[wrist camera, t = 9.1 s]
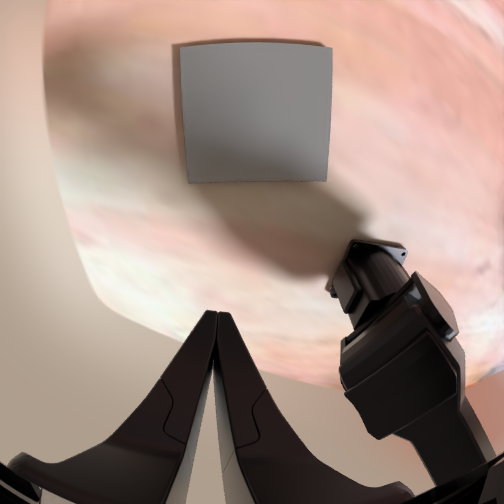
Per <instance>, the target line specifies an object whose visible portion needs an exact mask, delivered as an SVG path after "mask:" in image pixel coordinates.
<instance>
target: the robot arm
mask: <svg viewBox="0 0 504 504" xmlns="http://www.w3.org/2000/svg"><path fill="white" fill-rule="evenodd" d="M355 244H357V245H356V246H355V247H353V246H354V245H355ZM407 254H408V251H407V250H406V249H405V248H404V247H398V246H392V245H387V244H381V243H375V242H369V241H363V240H352V241H351V242H350V243H349V246H348V249H347V251H346V254H345V256H344V259H343V260H342V261H341V263H340V265H339V268H338V270H337V273H336V275H335V277H334V280H333V285H332V288H331V290H330V295H331V297H332V298H339V301H340V304H341V306H342V309H343V311H344V313H345V314H348V315H349V317H350V320H351V323H352V325H353V328H354V330H355V331H353V332H352V333H351V334H350V335H349V336H347V337H345V338H343V339H342V340H341V355H340V366H339V374H340V380H341V384H342V386H343V388H344V390H345V391H346V392H345V393H344V395H345V397H346V398H347V399H348V400H349V401H350V402H351V403H352V404H353V405H354V407H355V408H356V410H357V411H358V412H359V414H360V416H361V418H362V420H363V422H364V425H365V427H366V429H367V431H368V433H369V434H371V435H372V436H373V437H375V438H376V439H378V440H381V439H383V438H385V437H387V436H388V435H391V434H393V435H395V436H398V437H400V438H402V439H405V440H407V441H409V442H411V444H412V445H413V447H414V448H415V450H416V452H417V454H418V455H419V457H420V459H421V461H422V462H423V464H424V466H425V468H426V469H427V471H428V473H429V475H430V477H431V479H432V481H433V482H434V484H435V486H436V487H434V488H432V489H430V490H427V491H425V492H423V493H420V494H418V495H416V496H415V495H414V494H413V492H412V491H411V490H410V489H409V488H408V487H407V486H405V485H404V484H403V483H401V482H400V481H398V482H394V483H391V484H388V485H384V486H381V487H376V488H374V487H367V486H363V485H361V484H359V483H357V482H355V481H353V480H352V479H349V478H348V477H346V476H344V475H343V474H341V473H339V472H338V471H336V470H334V469H332V468H331V467H329V466H328V465H326V464H324V463H323V462H321V461H320V460H318V459H317V458H316V457H315V456H314V455H313V454H312V453H311V452H310V451H309V450H308V449H307V447H306V446H305V445H304V443H303V442H302V441H301V440H300V438H299V437H298V436H297V434H296V433H295V432H294V430H293V429H292V428H291V426H290V425H289V424H288V422H287V421H286V419H285V418H284V416H283V415H282V413H281V412H280V410H279V409H278V407H277V405H276V404H275V402H274V400H273V398H272V396H271V394H270V393H269V391H268V389H266V388H267V387H266V385H265V383H264V381H263V379H262V377H261V375H260V373H259V371H258V369H257V367H256V365H255V363H254V361H253V359H252V357H251V355H250V353H249V351H248V349H247V347H246V345H245V343H244V341H243V339H242V337H241V335H240V332H239V330H238V328H237V326H236V324H235V322H234V320H233V318H232V316H231V314H230V313H229V312H221V311H220V312H217V311H212V310H206V311H205V312H204V314H203V315H202V317H201V318H200V320H199V321H198V323H197V324H196V325H195V327H194V328H193V330H192V331H191V333H190V334H189V336H188V337H187V339H186V340H185V342H184V343H183V345H182V346H181V348H180V349H179V351H178V352H177V354H176V355H175V356H174V358H173V359H172V361H171V362H170V364H169V365H168V367H167V368H166V369H165V371H164V372H163V374H162V375H161V377H160V378H161V379H159V380H158V381H157V383H156V384H155V386H154V387H153V388H152V390H151V391H150V392H149V394H148V395H147V396H146V398H145V399H144V400H143V401H142V402H141V404H140V405H139V406H138V407H137V408H136V409H135V410H134V412H133V413H132V414H131V415H130V416H129V417H128V418H127V419H126V420H125V421H124V422H123V424H121V426H120V427H119V428H118V429H117V430H116V431H115V432H114V433H113V434H112V435H111V436H110V437H108V438H107V439H106V440H105V441H103V442H102V443H100V444H98V445H96V446H94V447H92V448H90V449H88V450H86V451H84V452H82V453H79V454H77V455H75V456H73V457H71V458H69V459H66V460H64V461H62V462H59V463H45V462H42V461H40V460H38V459H36V458H34V457H32V456H30V455H28V454H27V453H24V452H21V453H20V454H18V455H17V456H15V457H14V458H13V459H12V460H11V461H10V462H9V463H8V465H7V466H6V465H4V464H3V463H2V462H0V504H185V503H186V497H187V492H188V487H189V481H190V477H191V471H192V467H193V461H194V457H195V452H196V447H197V441H198V437H199V432H200V427H201V423H202V418H203V413H204V408H205V403H206V399H207V394H208V389H209V384H210V380H211V375H212V370H213V379H214V393H215V405H216V417H217V430H218V440H219V450H220V459H221V468H222V477H223V485H224V493H225V501H226V504H504V451H503V452H502V453H500V454H498V455H497V456H496V454H495V452H494V450H493V448H492V446H491V443H490V441H489V439H488V437H487V435H486V433H485V431H484V430H483V427H482V425H481V424H480V422H479V420H478V418H477V416H476V414H475V413H474V410H473V409H472V407H471V405H470V403H469V402H468V400H467V398H466V396H465V352H464V350H463V349H462V347H461V345H460V344H459V342H458V341H457V339H456V338H455V337H456V336H457V335H458V334H459V330H458V326H457V322H456V319H455V315H454V312H453V310H452V308H451V307H450V305H449V304H448V303H447V301H446V300H445V298H444V297H443V296H442V294H441V293H440V292H439V291H438V290H437V289H436V288H435V287H434V286H432V285H431V284H430V283H429V282H428V281H427V280H426V279H424V278H423V277H422V276H421V275H420V274H419V273H417V272H416V271H415V272H414V273H413V274H412V275H411V278H410V276H409V275H408V273H407V272H406V270H405V269H404V268H403V266H402V264H403V262H404V260H405V258H406V256H407ZM335 292H336V293H335ZM39 487H40V488H41V490H40V488H39Z"/></svg>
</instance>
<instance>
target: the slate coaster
mask: <svg viewBox="0 0 504 504" xmlns="http://www.w3.org/2000/svg"><path fill="white" fill-rule="evenodd" d="M180 72H181V95H182V112H183V127H184V140H185V152H186V163H187V173H188V183H189V184H193V183H212V182H237V181H326V179H327V168H328V155H329V141H330V125H331V104H332V48H329V47H322V46H313V45H303V44H291V43H269V42H241V43H219V44H206V45H196V46H187V47H180Z"/></svg>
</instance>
